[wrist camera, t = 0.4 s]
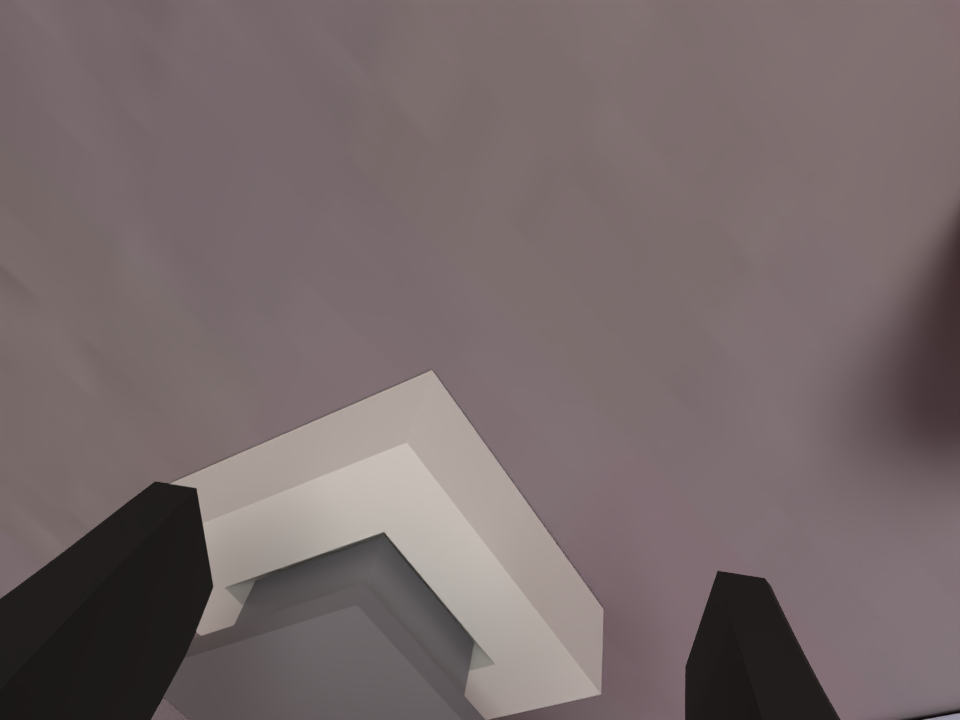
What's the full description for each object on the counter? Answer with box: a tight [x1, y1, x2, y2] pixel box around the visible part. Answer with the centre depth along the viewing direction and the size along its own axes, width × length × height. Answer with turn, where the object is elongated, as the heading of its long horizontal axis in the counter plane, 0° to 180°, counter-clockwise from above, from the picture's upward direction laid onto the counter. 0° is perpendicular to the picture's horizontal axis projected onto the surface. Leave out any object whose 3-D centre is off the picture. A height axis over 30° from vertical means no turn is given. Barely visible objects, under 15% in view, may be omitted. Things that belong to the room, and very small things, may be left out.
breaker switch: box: [164, 536, 485, 720], centre depth 22 cm, size 7×7×4 cm
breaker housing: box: [170, 370, 604, 720], centre depth 24 cm, size 10×10×4 cm
